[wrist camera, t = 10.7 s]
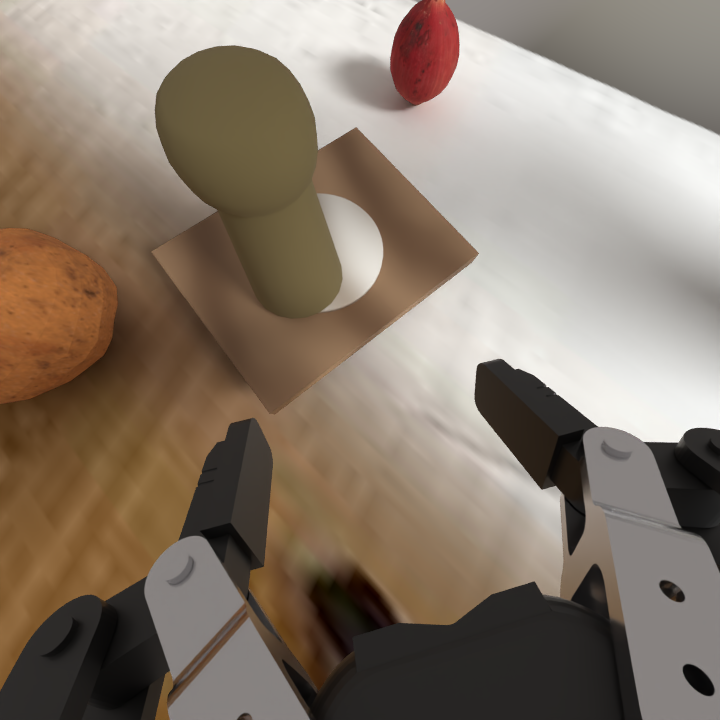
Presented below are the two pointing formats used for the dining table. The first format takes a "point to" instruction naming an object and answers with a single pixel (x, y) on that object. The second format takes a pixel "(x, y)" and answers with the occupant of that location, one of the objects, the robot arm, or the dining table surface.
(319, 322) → the wooden stand
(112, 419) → the dining table surface
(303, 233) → the olive pepper mill
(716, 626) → the robot arm
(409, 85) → the onion
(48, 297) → the potato
